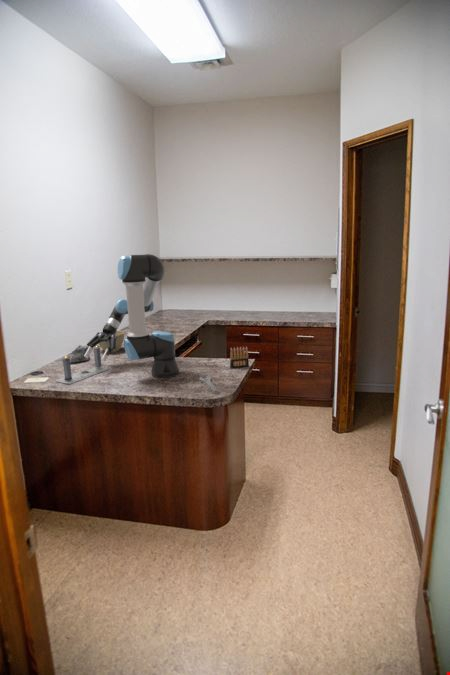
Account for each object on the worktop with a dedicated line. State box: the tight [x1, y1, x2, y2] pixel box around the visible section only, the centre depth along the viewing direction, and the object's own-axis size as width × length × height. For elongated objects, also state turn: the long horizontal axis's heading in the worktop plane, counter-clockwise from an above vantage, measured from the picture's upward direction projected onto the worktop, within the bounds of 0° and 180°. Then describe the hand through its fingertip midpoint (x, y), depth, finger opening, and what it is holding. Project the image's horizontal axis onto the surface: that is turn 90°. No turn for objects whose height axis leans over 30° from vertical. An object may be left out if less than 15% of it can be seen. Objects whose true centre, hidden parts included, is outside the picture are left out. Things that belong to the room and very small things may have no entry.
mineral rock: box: [68, 344, 91, 363], centre depth 275 cm, size 13×11×10 cm
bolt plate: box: [55, 355, 111, 385], centre depth 246 cm, size 10×30×13 cm, turn 151°
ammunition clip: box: [229, 345, 250, 370], centre depth 252 cm, size 11×2×12 cm, turn 105°
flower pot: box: [98, 330, 125, 354], centre depth 296 cm, size 18×18×12 cm
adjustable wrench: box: [199, 375, 220, 394], centre depth 224 cm, size 25×6×2 cm, turn 12°
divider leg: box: [93, 345, 103, 368], centre depth 255 cm, size 3×3×12 cm
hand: (94, 358), depth 253 cm, fingers open, 13 cm apart
